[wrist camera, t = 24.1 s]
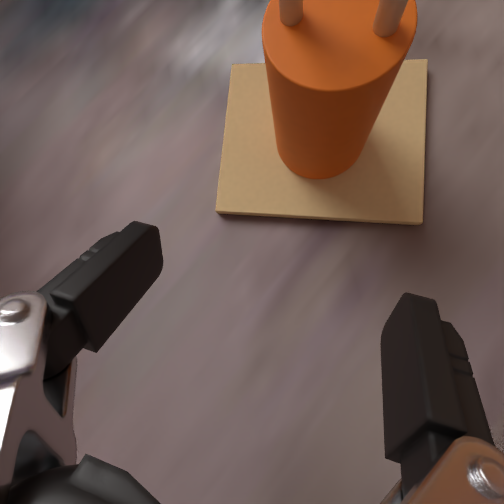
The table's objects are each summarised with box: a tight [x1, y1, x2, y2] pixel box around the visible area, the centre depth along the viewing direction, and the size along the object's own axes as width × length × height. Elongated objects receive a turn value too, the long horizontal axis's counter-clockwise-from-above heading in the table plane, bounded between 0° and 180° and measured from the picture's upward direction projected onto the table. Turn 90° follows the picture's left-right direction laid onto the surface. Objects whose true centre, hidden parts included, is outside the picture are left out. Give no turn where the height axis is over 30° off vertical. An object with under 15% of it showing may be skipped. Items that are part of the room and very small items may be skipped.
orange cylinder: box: [262, 0, 417, 179], centre depth 10 cm, size 5×5×17 cm
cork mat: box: [215, 59, 428, 225], centre depth 18 cm, size 12×10×1 cm
